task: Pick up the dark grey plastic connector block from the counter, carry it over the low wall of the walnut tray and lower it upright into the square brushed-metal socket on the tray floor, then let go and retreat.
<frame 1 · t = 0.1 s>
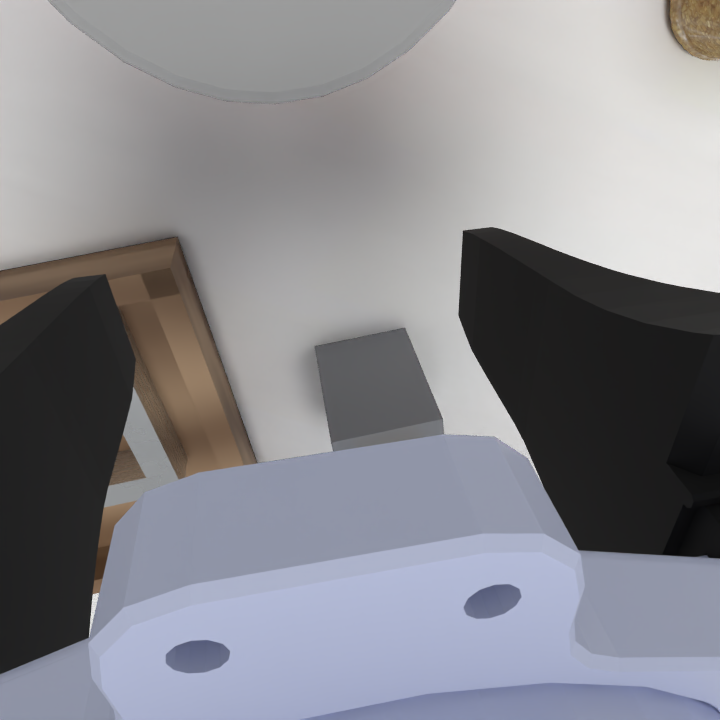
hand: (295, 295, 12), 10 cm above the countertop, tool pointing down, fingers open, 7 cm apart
connector: (365, 372, 26), on the countertop
socket: (58, 399, 24), resting on tray
tray: (33, 442, 25), on the countertop
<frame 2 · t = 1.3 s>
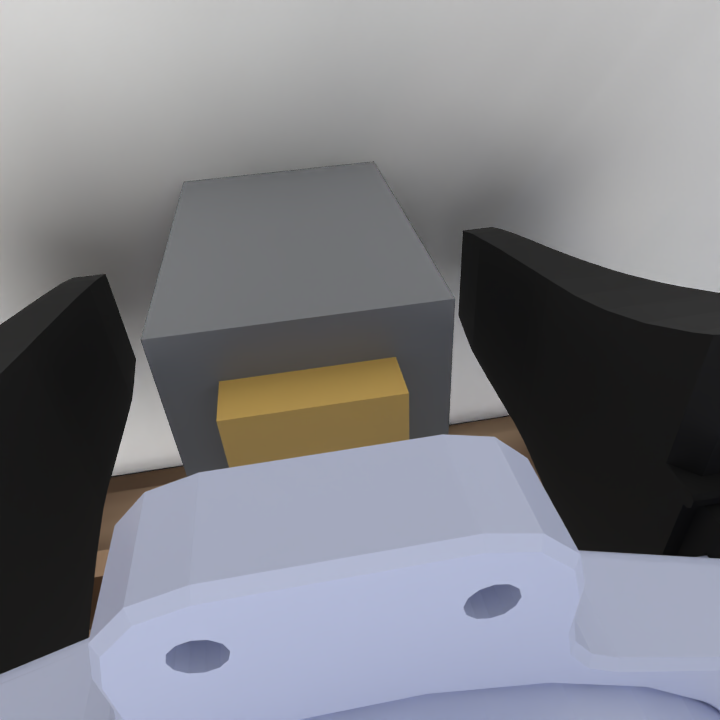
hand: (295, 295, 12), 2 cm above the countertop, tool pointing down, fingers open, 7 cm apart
connector: (292, 257, 13), on the countertop
tray: (341, 613, 22), on the countertop
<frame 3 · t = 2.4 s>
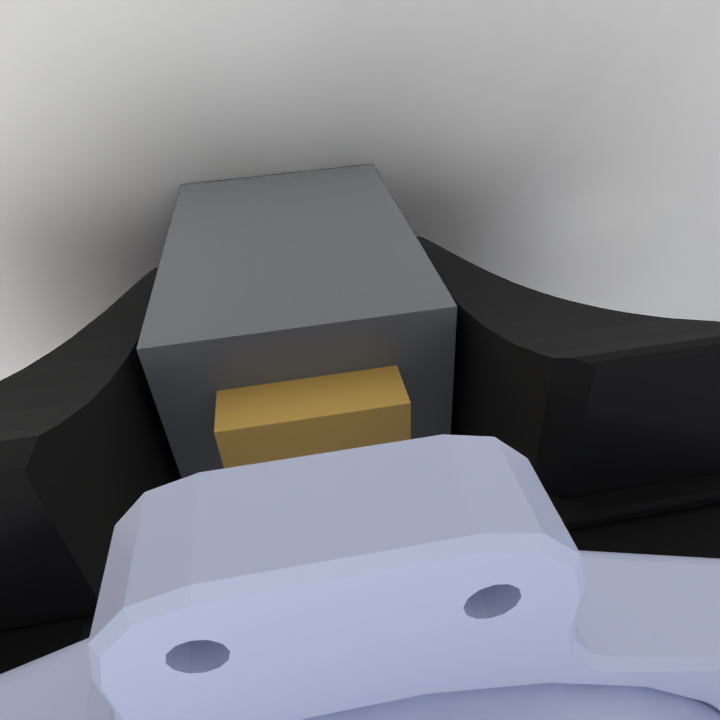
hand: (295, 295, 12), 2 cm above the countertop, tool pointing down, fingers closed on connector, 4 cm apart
connector: (290, 261, 13), on the countertop, touching gripper
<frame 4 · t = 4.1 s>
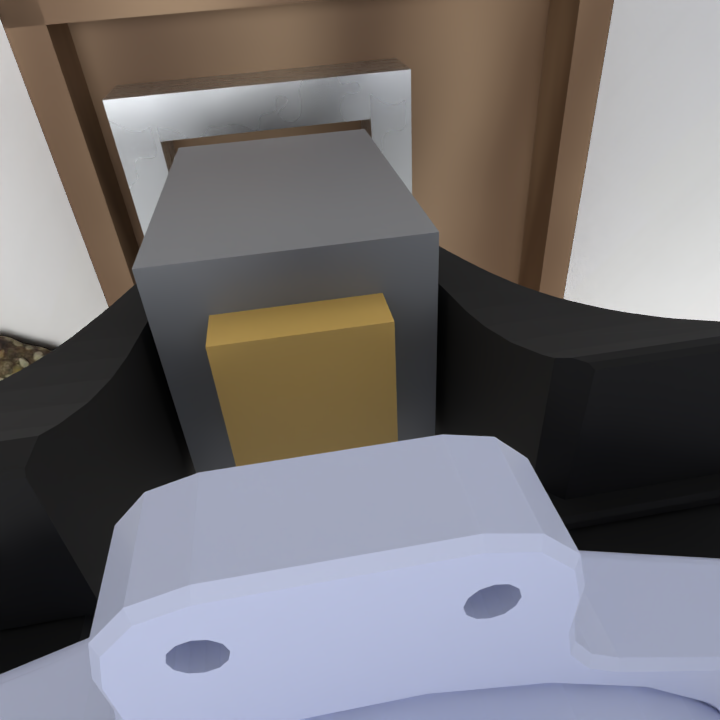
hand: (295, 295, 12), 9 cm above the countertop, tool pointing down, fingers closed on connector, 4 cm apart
connector: (285, 226, 13), point 7 cm above the countertop, touching gripper
socket: (278, 199, 20), resting on tray
tray: (339, 244, 22), on the countertop
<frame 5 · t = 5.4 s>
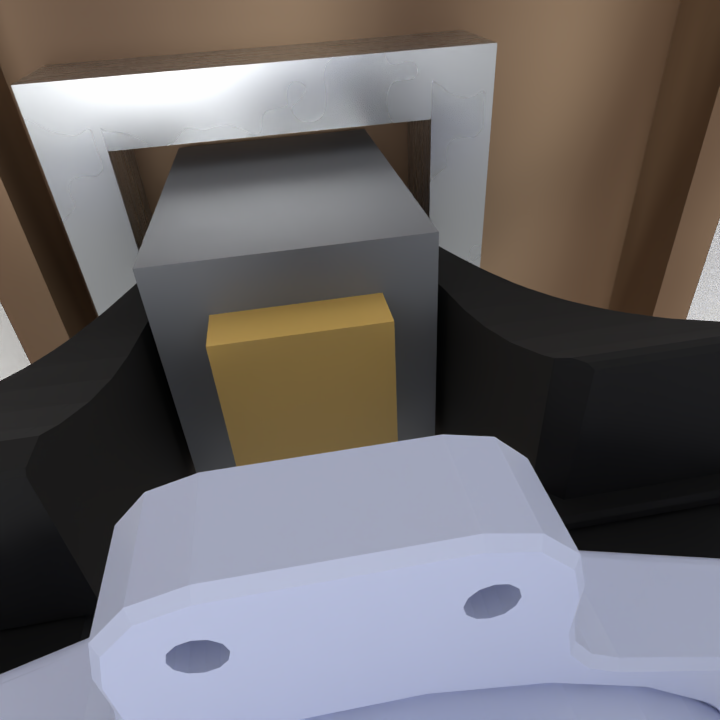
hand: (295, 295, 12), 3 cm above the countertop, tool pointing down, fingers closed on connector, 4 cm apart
connector: (285, 226, 13), point 1 cm above the countertop, touching gripper
socket: (286, 230, 14), resting on tray
tray: (368, 290, 16), on the countertop
when the fingers open (3 cm above the countertop, at t = 6.3 s): connector stays where it is, resting on tray.
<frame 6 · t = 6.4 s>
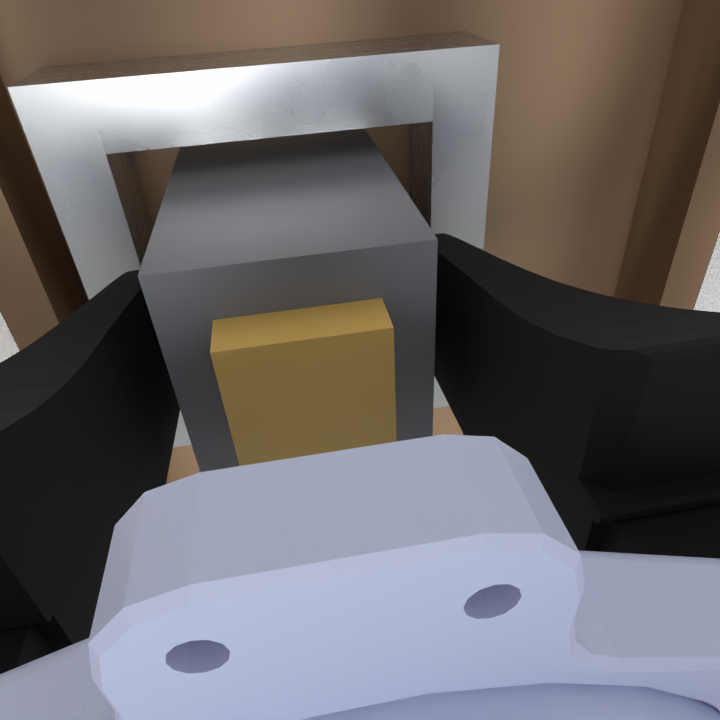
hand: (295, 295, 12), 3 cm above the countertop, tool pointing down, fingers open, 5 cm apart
connector: (285, 224, 14), point 1 cm above the countertop, touching tray
socket: (286, 233, 14), resting on tray
tray: (368, 293, 16), on the countertop
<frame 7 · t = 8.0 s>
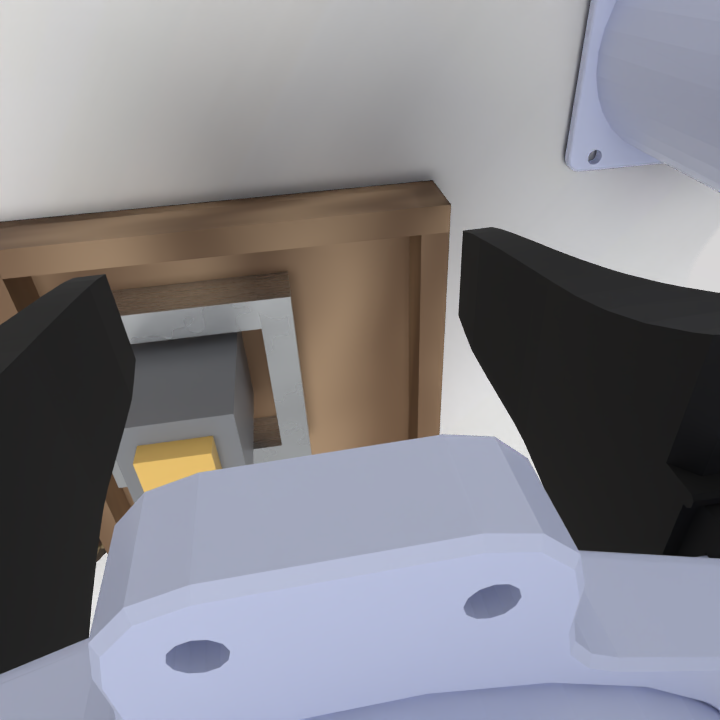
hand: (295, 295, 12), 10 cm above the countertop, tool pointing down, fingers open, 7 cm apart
connector: (198, 362, 24), point 1 cm above the countertop, touching tray
socket: (201, 362, 25), resting on tray
tray: (255, 392, 26), on the countertop
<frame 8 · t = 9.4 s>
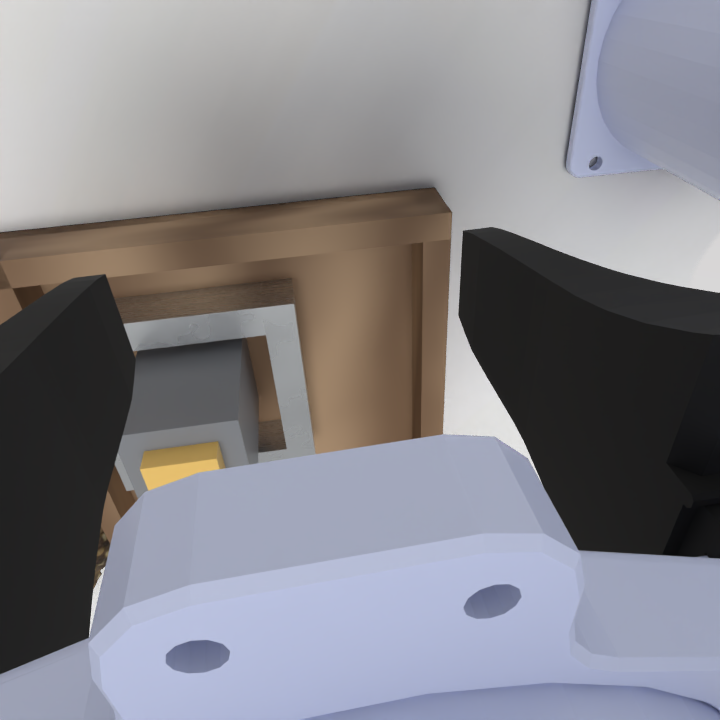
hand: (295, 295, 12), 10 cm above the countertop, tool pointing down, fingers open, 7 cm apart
connector: (203, 367, 24), point 1 cm above the countertop, touching tray
socket: (207, 367, 25), resting on tray
tray: (260, 396, 26), on the countertop
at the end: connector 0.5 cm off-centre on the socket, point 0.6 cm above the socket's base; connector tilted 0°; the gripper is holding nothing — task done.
